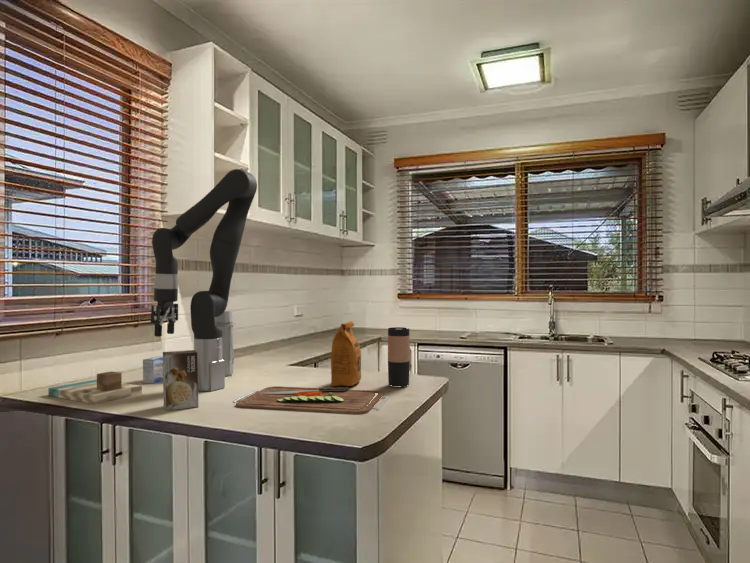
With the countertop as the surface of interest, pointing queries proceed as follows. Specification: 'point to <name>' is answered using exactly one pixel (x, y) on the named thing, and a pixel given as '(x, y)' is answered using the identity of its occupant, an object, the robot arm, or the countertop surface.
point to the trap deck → (92, 392)
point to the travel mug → (398, 356)
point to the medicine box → (153, 369)
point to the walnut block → (109, 381)
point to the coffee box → (180, 379)
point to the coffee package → (345, 357)
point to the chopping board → (312, 400)
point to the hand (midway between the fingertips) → (164, 335)
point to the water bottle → (226, 339)
